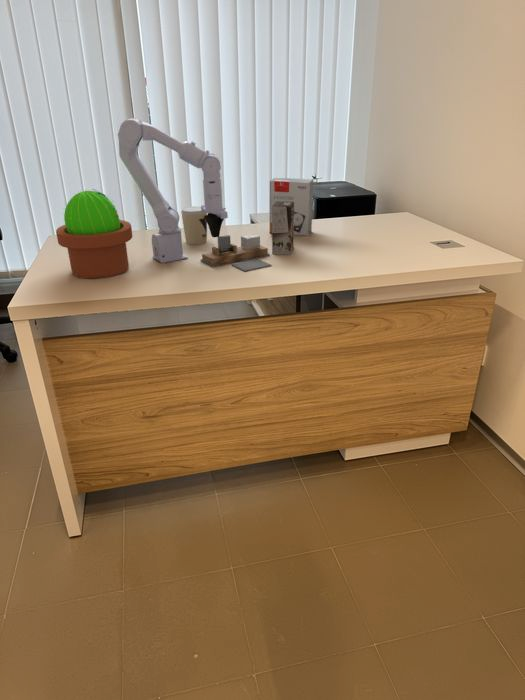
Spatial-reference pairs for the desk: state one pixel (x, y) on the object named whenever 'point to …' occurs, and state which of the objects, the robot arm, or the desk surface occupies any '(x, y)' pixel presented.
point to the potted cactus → (94, 236)
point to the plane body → (232, 255)
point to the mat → (251, 265)
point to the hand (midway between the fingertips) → (215, 236)
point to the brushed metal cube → (250, 242)
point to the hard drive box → (300, 195)
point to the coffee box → (282, 227)
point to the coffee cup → (194, 225)
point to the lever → (224, 244)
